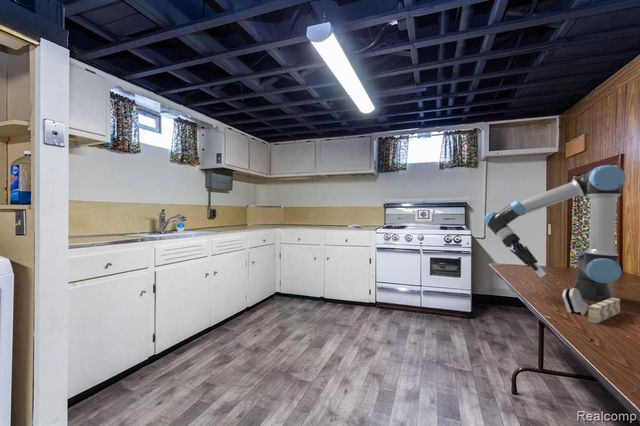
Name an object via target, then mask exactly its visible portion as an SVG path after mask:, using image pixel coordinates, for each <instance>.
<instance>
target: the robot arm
mask: <svg viewBox="0 0 640 426" xmlns="http://www.w3.org/2000/svg"><path fill="white" fill-rule="evenodd" d="M625 182H626V174H625V172H624V170H623V169H622V168H621V167H619V166H616V165H611V164H607V165H606V164H605V165H600V166H596V167H594V168H593V169H591V170H590V171H588V172H586V173H584V174H583V175H581V176H578V177H575V178H573V179H572V180H571V182H568V183H565V184H563V185H560V186H558V187H555V188H552V189H550V190H547V191H544V192H541V193H539V194H537V195H534V196H531V197H529V198H526V199H524V200H515V201H513V202H510V204H508V205H507V206H505V207H504V208H503V209H501V210H500V211H498V212H495V211H491V212H489V213H487V214H486V215H485V216H484V217H483V222H484V224H486V227H488V228H489V230H491V232H492V233H493V234H494V235H495V236H496V237H497V239H498V240H500V241H501V242H502V243H503V245H504V246H505V247H506V248H511V249H509V251H510V252H511V253H513V254H514V255H515V256H516V257H517V258H518V259H519V260H520V261H521V262H522V263H523V264H525V265H526V266H527V267H530V268H531V269H532V270H533V271H534V272H535V273H536V274H537V276H539V277H540V278H543V277H544V276H546V275H547V272H546V271H545V270H544V269H543V268H542V267H541V266H540V265H539V264H538V261H539V260H537V258H536V257H535V256H534V254H532V252H531V251H530V250H529V248H528V246H527V245H525V246H524V244H522V243H521V242H520V241H521V238H520V237H519V235H517V233H515V231H514V230H513V229H512V228H511V227H510V226H509V225H508V224H510V223H511V222H513V221H515V220H516V219H517V218H519V217H521V216H525V215H527V214H530V213H533V212H535V211H538V210H541V209H544V208H547V207H549V206H552V205H555V204H557V203H558V204H559V203H561V202H564V201H566V200H570V199H573V198H575V197H578V196H580V197H585V196H587V197H588V198H590V214H589V215H590V217H589V219H590V220H589V240H588V242H589V243H588V244H589V245H588V249H586V250H580V251H578V253H577V267H576V269H577V271H576V272H577V273H576V275H577V277H576V281H575V283H574V285H573V287H572V288H576V289H578V290H579V292H580V294H581V297H582V299H586V300H592V301H597V302H601V301H604V300H607V299H609V298H612V297H613V294H612V291H611V289H610V286H609V284H610V283H613V282H616V281H617V280H618V279H620V277H621V276H622V268H621V266H620V264H619V259H620V258H619V253H618V252H617V251H615V238H616V236H615V234H616V218H617V217H616V216H617V215H616V214H617V199H618V198H619V197H620V196H621V195H622V187H623V185H624V183H625Z"/></svg>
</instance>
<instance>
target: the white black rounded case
mask: <svg viewBox="0 0 640 426" xmlns="http://www.w3.org/2000/svg"><path fill="white" fill-rule="evenodd" d="M562 300H563V301H564V306H565V308H566V311H567V313H569V314H571V313H573V312H575V313H580V314H581V316H584V315H585V314H586V312H588V311H589V309H588V308H589V306H590V305H589V304H588V302H585V301H584V298H582V297H581V294H580V292H579V290H578V289H576V288H573V287H572V288H566V289H564V290H563V291H562Z"/></svg>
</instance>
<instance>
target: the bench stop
mask: <svg viewBox="0 0 640 426" xmlns="http://www.w3.org/2000/svg"><path fill="white" fill-rule="evenodd" d="M588 306H589V309H588V310H587V312H588V315H587V317H588V318H587V322H589V323H592V324H599V323H601V322H603V321H606V320H607V319H610V318H611V317H613V316H616V315H619V313H620V311H621V298H617V297H613V296H612V298H609V299H607V300H604V301H598V302H597V303H594V304H591V305H588Z"/></svg>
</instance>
